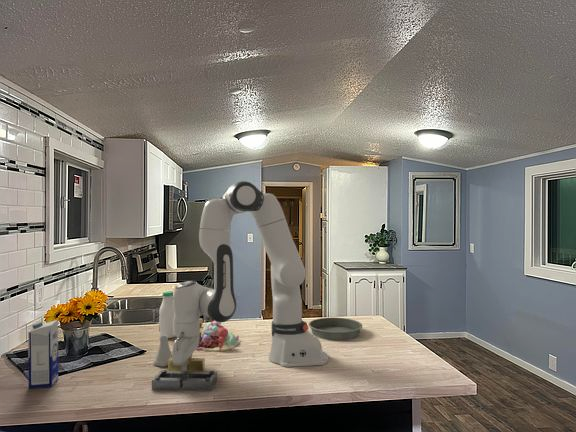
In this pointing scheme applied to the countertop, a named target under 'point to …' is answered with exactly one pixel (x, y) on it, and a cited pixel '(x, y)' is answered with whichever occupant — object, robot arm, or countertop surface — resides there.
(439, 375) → the countertop surface
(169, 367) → the tall mustard post
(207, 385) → the grey forked link
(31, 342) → the milk carton
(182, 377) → the link
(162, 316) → the milk bottle
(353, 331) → the cake pan
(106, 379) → the countertop surface
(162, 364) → the flask
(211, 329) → the candy landscape model
